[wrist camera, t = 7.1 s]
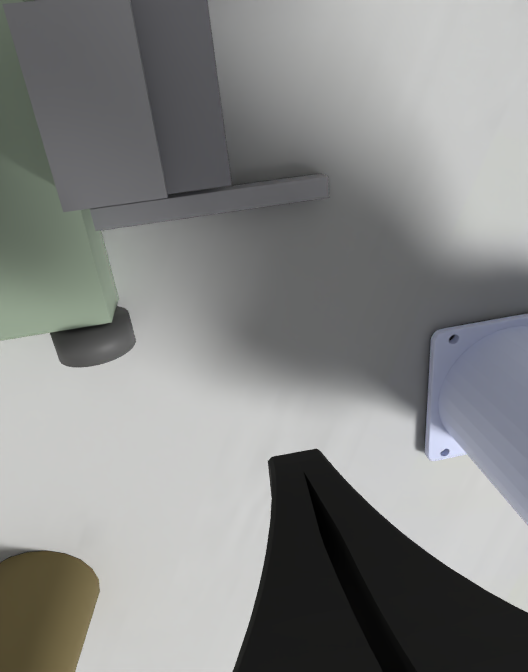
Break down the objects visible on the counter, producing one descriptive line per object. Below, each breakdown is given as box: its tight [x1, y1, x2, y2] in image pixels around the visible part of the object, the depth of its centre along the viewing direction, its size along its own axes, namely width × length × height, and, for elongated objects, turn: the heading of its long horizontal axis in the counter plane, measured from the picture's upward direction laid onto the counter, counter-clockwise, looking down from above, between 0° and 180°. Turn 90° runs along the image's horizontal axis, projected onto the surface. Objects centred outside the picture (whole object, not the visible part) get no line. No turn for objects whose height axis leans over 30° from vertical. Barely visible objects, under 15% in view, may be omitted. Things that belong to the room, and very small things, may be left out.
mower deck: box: [0, 0, 329, 367], centre depth 14 cm, size 20×17×6 cm
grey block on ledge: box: [2, 0, 232, 212], centre depth 15 cm, size 5×5×5 cm
